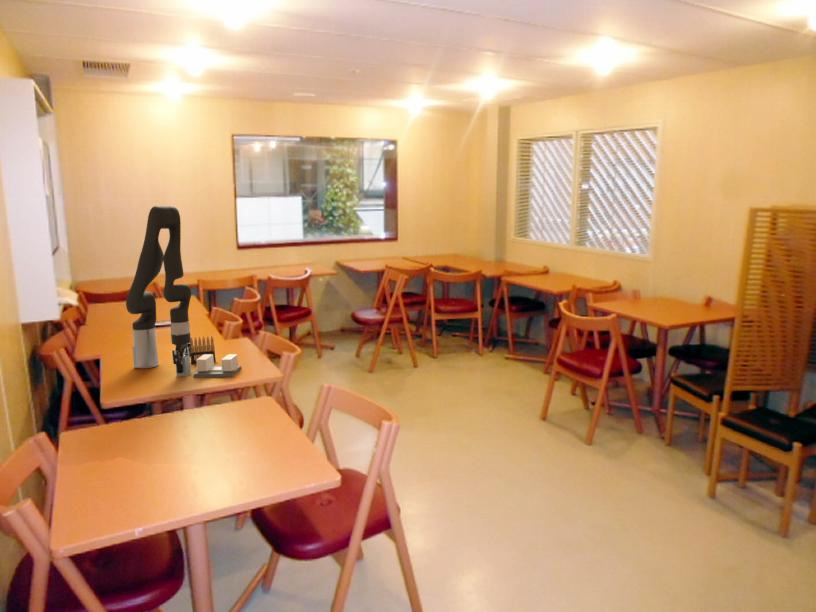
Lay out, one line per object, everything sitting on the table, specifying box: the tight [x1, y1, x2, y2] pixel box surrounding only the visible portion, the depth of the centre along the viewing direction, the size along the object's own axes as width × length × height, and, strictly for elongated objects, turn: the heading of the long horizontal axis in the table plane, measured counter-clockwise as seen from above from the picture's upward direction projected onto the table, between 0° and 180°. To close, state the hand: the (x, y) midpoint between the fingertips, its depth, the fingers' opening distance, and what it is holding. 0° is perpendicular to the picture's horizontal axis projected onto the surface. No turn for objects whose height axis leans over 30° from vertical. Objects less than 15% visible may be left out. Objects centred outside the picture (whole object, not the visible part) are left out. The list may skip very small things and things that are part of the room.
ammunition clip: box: [190, 335, 217, 365], centre depth 273 cm, size 11×2×12 cm, turn 108°
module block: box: [175, 355, 192, 377], centre depth 254 cm, size 4×5×8 cm
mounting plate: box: [193, 365, 242, 379], centre depth 256 cm, size 16×13×2 cm
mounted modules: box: [196, 353, 239, 372], centre depth 255 cm, size 14×9×5 cm, turn 88°
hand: (183, 370), depth 254 cm, fingers open, 6 cm apart
